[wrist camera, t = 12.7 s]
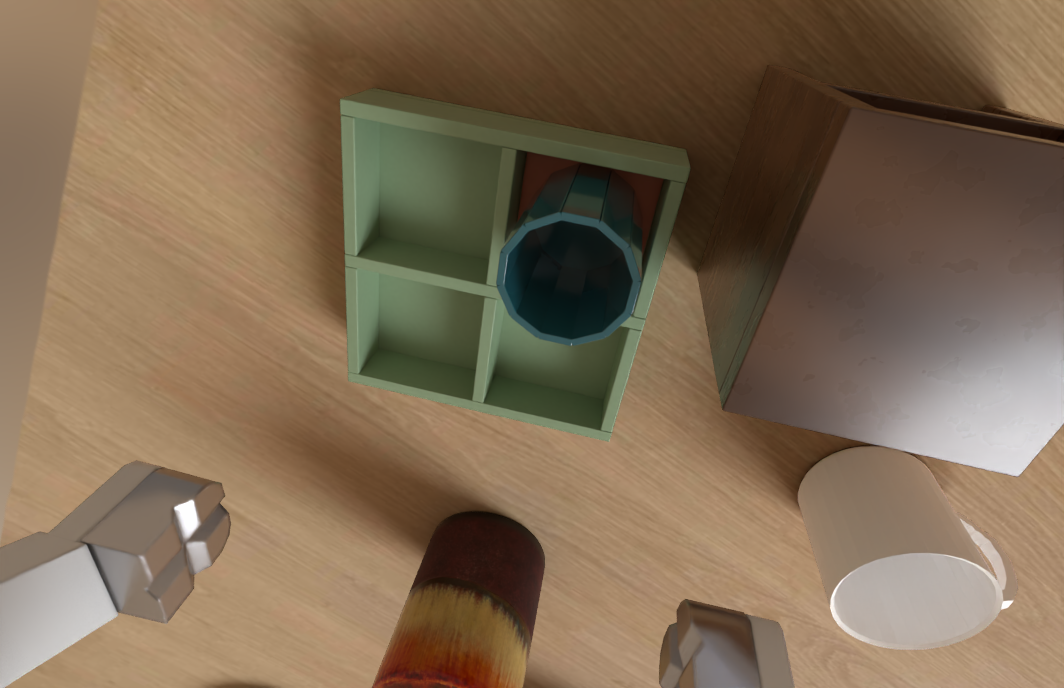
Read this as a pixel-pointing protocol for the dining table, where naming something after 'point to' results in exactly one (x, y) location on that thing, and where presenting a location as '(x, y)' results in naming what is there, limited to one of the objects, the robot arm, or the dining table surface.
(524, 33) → the dining table surface
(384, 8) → the dining table surface
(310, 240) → the dining table surface
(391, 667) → the vase
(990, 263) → the shelf
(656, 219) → the tray
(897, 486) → the mug
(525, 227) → the cup
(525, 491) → the dining table surface
